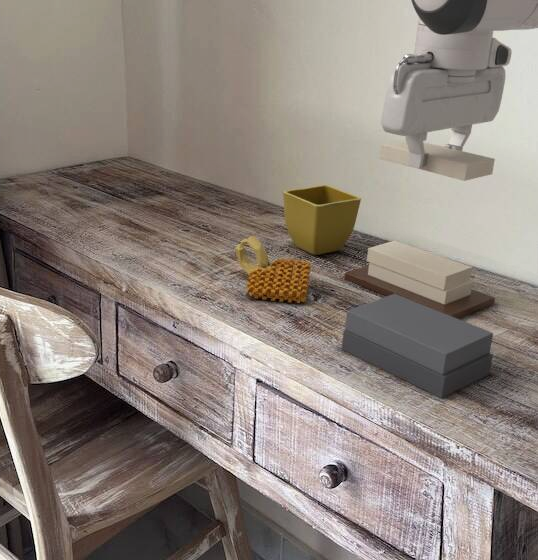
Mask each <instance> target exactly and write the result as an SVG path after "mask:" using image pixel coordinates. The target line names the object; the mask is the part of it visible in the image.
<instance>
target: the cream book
mask: <svg viewBox="0 0 538 560" xmlns="http://www.w3.org/2000/svg"><path fill="white" fill-rule="evenodd" d="M423 144H424V150H425V152H426V153H429V155H428V159H427V165H426V166H424V167H420V168H416V167H412V166H410V165H409V156H410V152H409V149H408V145H407V142H406V139H401V140H396V141H390V142H384V143H381V145H380V152H379V159H380V160H383V161H386V162H387V161H388V162H391V163H395V164H399V165H403V166H407V167H410V168H414V169H418V170H421V171H425V172H429V173H433V174H437V175H439V176H444V177H448V178H451V179H456V180H459V181H463V182H466V181H470V180H474V179H478V178H483V177H487V176H492V175H493V173H494V172H493V171H494V167H495V166H494V165H495V161H496V158H493V157H490V156H485V155H480V154H477V153H472V152H467V151H463V150H462V151H459V150H455V149H451V148H446V147H445V146H442V145H437V144H433V143H430V142H425V141H423Z"/></svg>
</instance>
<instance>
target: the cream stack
mask: <svg viewBox="0 0 538 560" xmlns="http://www.w3.org/2000/svg"><path fill="white" fill-rule="evenodd" d="M366 262H368V265H366V266H362V267H359V268H355V269H353V270H348V271H345V272H344V280H347V281H349V282H351V283H353V284H356V285H358V286H361V287H364V288H366V289H369V290H371V291H374V292H376V293H378V294H381V295H383V296H385V297H387V296H390V295H393V294H397V295H399V296H402V297H404V298H407V299H409V300H412V301H414V302H417V303H419V304H422V305H424V306H427V307H429V308H432V309H434V310H437V311H439V312H442V313H444V314H447V315H449V316H452V317H454V318H457V319H459V320H460V319H461V318H464V317H467V316H469V315H471V314H473V313H476V312H478V311H481V310H483V309H486V308H488V307H490V306H491V307H492V306H493V305H495V300H496V297H495V296H491V295H489V294H487V293H483V292H480V291H478V290H476V289H473V283H474V282H473V280H472V279H471V278H472V273H473V266H471V265H469V264H468V265H467V264H466V263H462V262H459V261H456V260H453V259H450V258H447V257H444V256H442V255H438V254H436V253H433V252H430V251H427V250H424V249H422V248H419V247H415V246H412V245H410V244H406V243H404V242H400V241H398V240H392V241H389V242H385V243H381V244H378V245H375V246H371V247H368V248H367V255H366Z"/></svg>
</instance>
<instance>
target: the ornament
mask: <svg viewBox="0 0 538 560" xmlns="http://www.w3.org/2000/svg"><path fill="white" fill-rule="evenodd" d="M245 244H247V246H249V248H250V249H251V250H252V251H253V253H254V254H255V257H256V261H257V264H256V265H255V264H254V263H253V262H252V261H251V259H250V258H249V257H248V255H247V248H246V246H245ZM234 248H235V252H236V257H237V261H238V264H239V266H240V267H241V268H242V270H243V271H244V273H245V274H246V275H247V276H248V278H247V282H246V293H247V294H248V295H249V296H250V297H253V299H255V300H256V299H257V300H259V298H261V300H262V301H263V300H264V301H267V300H268V299H270V301H271V302H276V300H278V301H279V303H282V302H284V300H285V301H287V303H293V301H294V302H295V303H297V304H300V303H301V302H302V303H305V302H306V301H307V296H308V290H309V285H308V284H309V282H310V281H309V280H310V274H311V268H312V265H311V263H308V262H307V260H303V261H302V260H299V259H295V260H294V259H290V258H286V259H285V258H278V259H277V260H274V261H272V262H271V261H269V256H268V252H267V251H266V248H265V247H264V245H263V243H262V242H261V241H260V240H259V239H258V238H257V237H256V236H255V235H250V236H248V238H243V240H241V241H240V243H239V244H237V246H235V247H234Z"/></svg>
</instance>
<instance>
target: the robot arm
mask: <svg viewBox="0 0 538 560" xmlns="http://www.w3.org/2000/svg"><path fill="white" fill-rule="evenodd" d="M411 3H412V7H413V9H414V11H415V13H416V14H417V16H418V21H417V28H416V36H415V44H414V50H413V53H408V54H405V55H403V56H402V59H401V60H400V61H399V63H398V64H396V65H395V68H394V70H393V73H392V75H391V76H390V79H389V82H388V85H387V89H386V93H385V97H384V102H383V107H382V113H381V119H380V125H381V126H382V129H383V131H384V132H385V133H388V134H392V135H397V136H402V137H405V139H404V140H406V142H407V145H408V149H409V152H410V156H409V165H410V166H412V167H411V168H413V167H416V168H415V169H417V168H420V167H424V166H426V165H427V159H428V155H429V153H426V152H425V150H424V144H423V142H425V141H427V139H428V133H430V132H437V131H443V130H448V129H450V130H451V131H452V134H451V136H450V139H449V142H448V144H444V147H446V148H451V149H455V150H459V151H463V150H464V146H465V145H466V143H467V142H468V139H469V137H470V135H471V134H472V129H473V125H477V124H484V123H489V122H493V121H494V120H495V118H496V117H497V115H498V113H499V111H500V108H501V103H502V101H503V100H502V99H503V95H504V89H505V84H506V83H505V82H506V69H505V67H506V66H508V65H510V63H511V59H512V52H513V51H512V48H511V47H510V46H509V45H506V44H505V43H503V42H501V41H499V40H498V39H497V38H496V37H493V36H494V32H504V31H526V30H528V31H529V30H534V29H538V0H411ZM410 166H409V167H410Z"/></svg>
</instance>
